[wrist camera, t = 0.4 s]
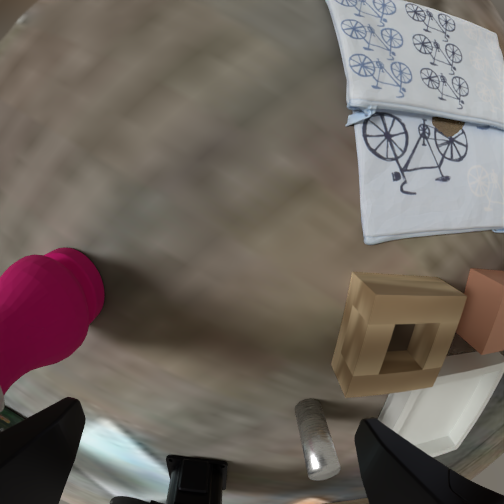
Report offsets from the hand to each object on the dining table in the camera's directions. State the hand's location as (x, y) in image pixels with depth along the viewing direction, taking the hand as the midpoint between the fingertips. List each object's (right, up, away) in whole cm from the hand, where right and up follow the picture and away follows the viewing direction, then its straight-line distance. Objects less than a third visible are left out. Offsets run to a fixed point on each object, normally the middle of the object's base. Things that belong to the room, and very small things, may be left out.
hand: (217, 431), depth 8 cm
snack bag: (+16, +16, +11) cm, 25 cm away
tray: (+21, -12, +17) cm, 29 cm away
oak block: (+12, 0, +14) cm, 19 cm away
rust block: (+23, +1, +14) cm, 27 cm away
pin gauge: (+6, -9, +16) cm, 19 cm away
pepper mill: (-13, +3, +13) cm, 18 cm away
